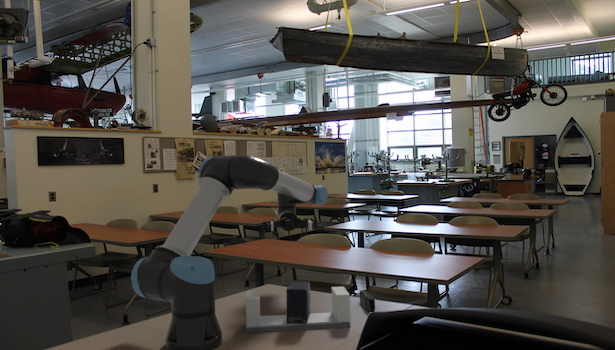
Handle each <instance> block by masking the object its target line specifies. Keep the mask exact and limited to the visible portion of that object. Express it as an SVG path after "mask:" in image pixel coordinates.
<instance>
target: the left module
mask: <svg viewBox="0 0 615 350" xmlns="http://www.w3.org/2000/svg"><path fill="white" fill-rule="evenodd" d="M260 293H261V291H260V290H259V289H258V290H246V295H245V323H246V324H245V325H246V327H253V326H260V316H261V294H260Z"/></svg>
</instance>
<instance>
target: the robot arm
mask: <svg viewBox="0 0 615 350" xmlns="http://www.w3.org/2000/svg"><path fill="white" fill-rule="evenodd" d="M198 173H199V174H198V176H197V178H198V181H197V182H198V183H197V184H198V187H199V188H198V190H197V191H196V193H195V194H194V196H193V198H192V199H191V200H190V202H189V203H188V205H187V207H186V208H185V210H184V211H183V213H182V214H181V216H180V218H179V219H178V221H177V222H176V224H175V225H174V227H173V229H172V230H171V232H170V233H169V235H168V237H167V238H166V240H165V242H164V243H163V244H162V245H157V246H156V247H154V249H153V251H152V252H151V253H150V256H149V257H148V256H145V257H143V258H140V259H139V260H138V261H137V262H136V263H135V264H134V266H133V268H132V270H131V274H130V275H131V277H130V278H131V286H132V289H133V290H134V292H135V294H137V295H138V297H139V296H140V297H141V298H145V299H147V300H152V301H160V302H164V303H165V302H167V303H170V304H171V319H170V323H169V327H168V329H167V332H166V337H165V348H166V350H213V349H215V348H217V347H219V346H220V345H221V344H222V343H223V332H222V328H221V326H220V324H219V320H218V317H217V315H216V272H215V266H214V263H213V262H212V260H210V259H209V258H206V257H202V256H198V255H197V256H196V255H195V256H194V255H192V253H193V251H194V249H195V248H196V246H197V244H198V243H199V241H200V239H201V237H202V235H203V234H204V233H205V230H206V229H207V227H208V226H209V223H210V222H211V221H212V219H213V216H214V215H215V214H216V211H217V210H218V208H219V206H220V205H221V203H222V202H223V201H227V200H228V199H230V196H231V195H232V194H233V191H234V190H249V189H250V190H251V189H253V190H257V189H258V190H262V191H273V192H276V194H277V220H276V219H274V218H272V219H270V220H266V221H265V220H264V221H262V229H263V230H264V229H267V231H268V232H269V231H270V232H274V229H275V228H280V229H282V230H283V231H285V232H292V231H294V230H296V229H297V228H301V227H303V228H305V227H306V228H308V229H309V230H310V231H312V230H313V228H318V227H319V226H318V225H319V224H318V223H319V222H318V221H319V220H318V219H314V218H306V217H304V218H302V219H301V218H300V217H298V216H297V209H296V208H297V205H324V204H325V203H326V202H327V200H328V195H329V193H328V190H327V188H326V186H324V185H320V184H318V185H315V184H312V183H309V182H307V181H304V180H302V179H300V178H298V177H296V176H293V175H290V174H288V173H286V172H284V171H281V170H280V169H278V166H276V165H275V164H273V163H271V162H269V161H266V160H264V159H261V158H259V157H256V156H252V155H248V154H238V155H236V154H231V155H215V156H210V157H208V158H206V159H205V160H204V161H202V163H201V164H200V166H199V168H198Z"/></svg>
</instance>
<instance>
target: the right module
mask: <svg viewBox="0 0 615 350" xmlns="http://www.w3.org/2000/svg"><path fill="white" fill-rule="evenodd" d="M350 300H351V295H350V293H349V291H347V288H345V286H344V285H343V286H331V312H332V313H333V315H334V317H335V319H336V321H337V322H344V321H350V322H351V301H350Z"/></svg>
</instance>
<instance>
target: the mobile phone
mask: <svg viewBox="0 0 615 350" xmlns="http://www.w3.org/2000/svg"><path fill="white" fill-rule="evenodd" d="M359 303H360V304H361V305H362V306H363V307H364V309H365V311H367V312H370V311H371V312H372V311H376V299H375V298H374V296H373V295H372V294H371V293H370V292H369V291H368V290H365V289H363V290H360V291H359ZM372 313H373V312H372Z"/></svg>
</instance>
